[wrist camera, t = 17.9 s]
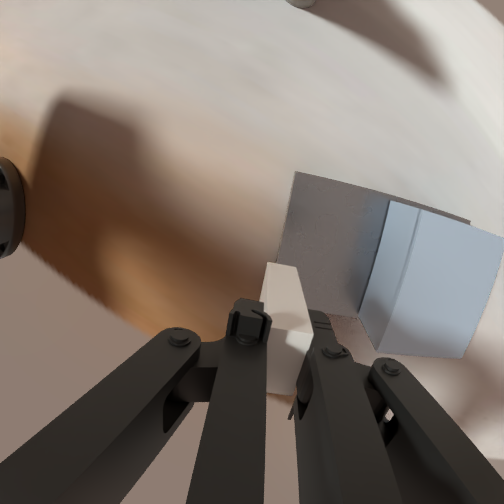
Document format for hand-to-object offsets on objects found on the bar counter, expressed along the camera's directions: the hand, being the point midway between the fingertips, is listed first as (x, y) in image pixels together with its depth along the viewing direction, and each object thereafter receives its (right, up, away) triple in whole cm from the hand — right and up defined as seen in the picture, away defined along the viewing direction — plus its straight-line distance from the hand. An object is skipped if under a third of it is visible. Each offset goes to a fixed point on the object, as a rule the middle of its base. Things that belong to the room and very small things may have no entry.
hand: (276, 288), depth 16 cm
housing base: (+11, +1, +14) cm, 18 cm away
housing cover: (+16, 0, +12) cm, 19 cm away
